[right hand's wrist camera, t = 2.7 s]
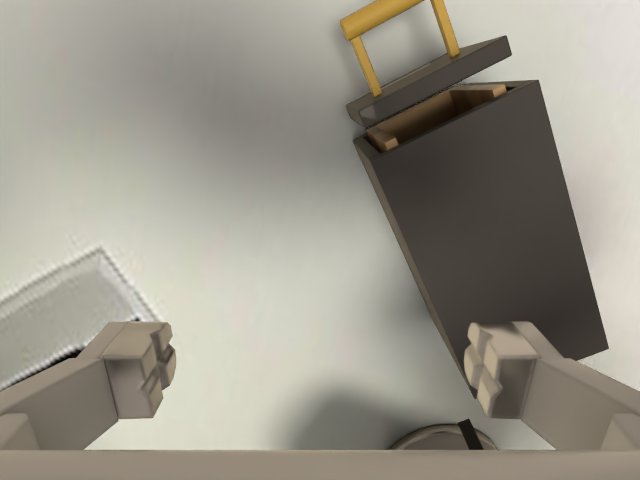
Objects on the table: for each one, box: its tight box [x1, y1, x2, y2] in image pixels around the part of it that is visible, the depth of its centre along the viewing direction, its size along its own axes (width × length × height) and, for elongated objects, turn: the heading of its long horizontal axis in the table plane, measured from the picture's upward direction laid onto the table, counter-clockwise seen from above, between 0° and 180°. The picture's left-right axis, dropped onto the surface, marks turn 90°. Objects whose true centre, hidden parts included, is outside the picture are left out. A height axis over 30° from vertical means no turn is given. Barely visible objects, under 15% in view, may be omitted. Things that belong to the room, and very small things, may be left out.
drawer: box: [340, 0, 512, 154], centre depth 30 cm, size 25×10×10 cm, turn 26°
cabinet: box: [353, 80, 609, 399], centre depth 32 cm, size 21×11×11 cm, turn 26°
